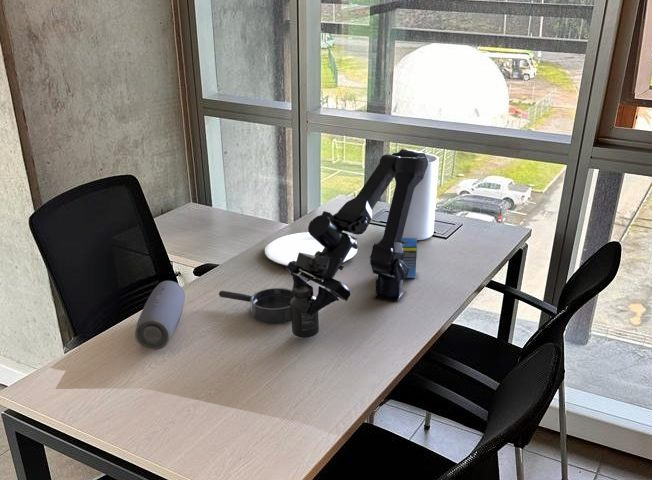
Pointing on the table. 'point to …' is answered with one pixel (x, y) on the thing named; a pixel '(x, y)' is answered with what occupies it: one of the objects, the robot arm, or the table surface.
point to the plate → (295, 248)
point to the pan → (272, 305)
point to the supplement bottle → (303, 312)
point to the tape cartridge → (410, 255)
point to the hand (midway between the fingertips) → (299, 310)
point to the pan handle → (235, 296)
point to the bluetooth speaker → (160, 315)
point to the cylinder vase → (423, 204)
